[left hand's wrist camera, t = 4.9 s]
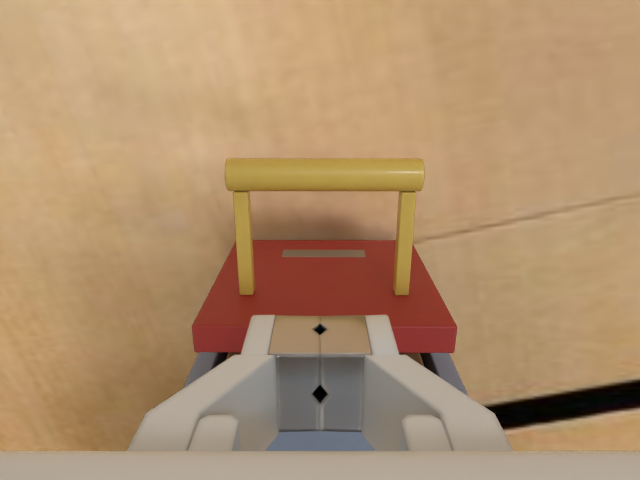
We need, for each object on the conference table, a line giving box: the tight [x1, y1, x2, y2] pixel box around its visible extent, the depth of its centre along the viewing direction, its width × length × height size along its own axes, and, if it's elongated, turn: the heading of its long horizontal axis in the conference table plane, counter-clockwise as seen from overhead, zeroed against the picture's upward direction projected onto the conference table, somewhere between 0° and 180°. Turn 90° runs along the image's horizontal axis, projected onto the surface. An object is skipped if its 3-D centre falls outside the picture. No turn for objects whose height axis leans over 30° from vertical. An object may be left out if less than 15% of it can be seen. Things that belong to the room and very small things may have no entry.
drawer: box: [192, 158, 457, 367], centre depth 23 cm, size 22×10×10 cm, turn 0°
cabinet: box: [184, 352, 468, 451], centre depth 26 cm, size 17×11×12 cm
